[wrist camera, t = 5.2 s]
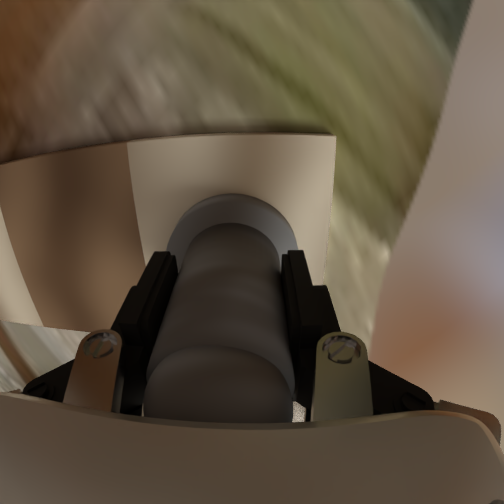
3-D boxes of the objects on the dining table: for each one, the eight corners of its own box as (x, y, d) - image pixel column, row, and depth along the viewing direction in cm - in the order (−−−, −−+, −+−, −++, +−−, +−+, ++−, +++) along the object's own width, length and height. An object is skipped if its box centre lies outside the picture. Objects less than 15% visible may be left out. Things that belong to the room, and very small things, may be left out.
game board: (332, 134, 12) (336, 136, 11) (313, 330, 17) (315, 337, 16) (-106, 198, 12) (-110, 201, 12) (-69, 301, 17) (-72, 305, 16)
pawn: (300, 193, 12) (374, 404, 4) (293, 303, 15) (320, 501, 7) (163, 195, 12) (42, 388, 4) (179, 304, 15) (132, 493, 7)
